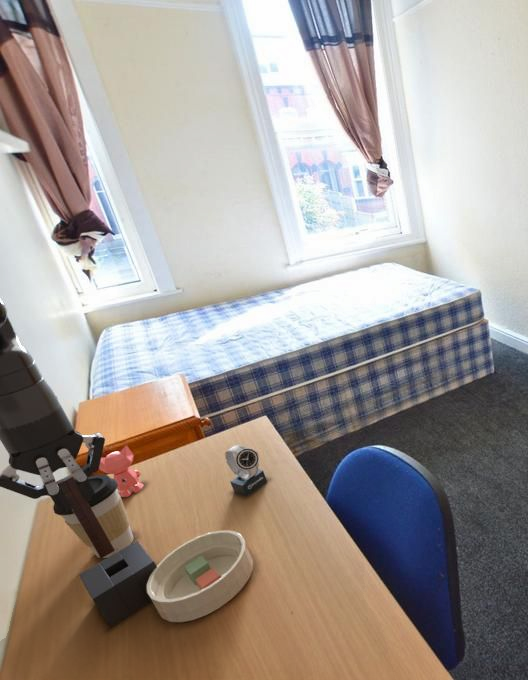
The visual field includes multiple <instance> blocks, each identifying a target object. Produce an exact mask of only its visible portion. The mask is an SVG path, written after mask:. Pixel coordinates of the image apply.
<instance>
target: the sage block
mask: <svg viewBox="0 0 528 680" xmlns="http://www.w3.org/2000/svg"><path fill="white" fill-rule="evenodd" d="M184 568H185V570H186V572H187V574H188V576H189V578H190V579H191V580H192V582H193V583H194V584H195V585H196V586H197V583H196V581H195V579H197V578H198V577H200V576H201V575H203V574H204V573H206V572H207V571H208V570H210V569H211V568H210V566H209V563H208V562H207V561H206V560H205V559H204V558H203V557H202V556H200V557H198V558H197V559H195V560H194V561H192V562H191V563H189V564H187V565H186V566H184Z"/></svg>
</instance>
